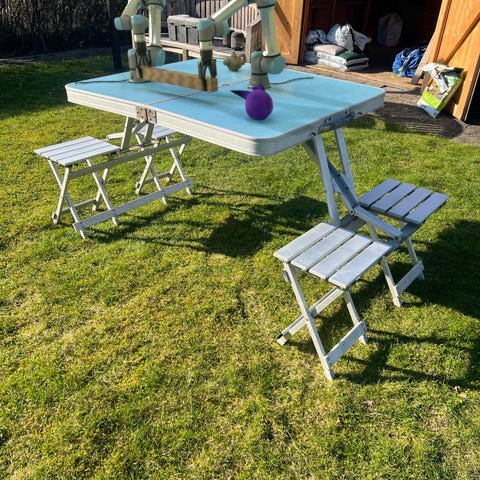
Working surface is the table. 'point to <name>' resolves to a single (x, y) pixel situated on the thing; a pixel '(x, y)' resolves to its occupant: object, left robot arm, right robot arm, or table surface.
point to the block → (178, 78)
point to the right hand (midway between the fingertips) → (208, 89)
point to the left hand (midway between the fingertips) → (144, 77)
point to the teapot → (235, 61)
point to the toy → (256, 102)
